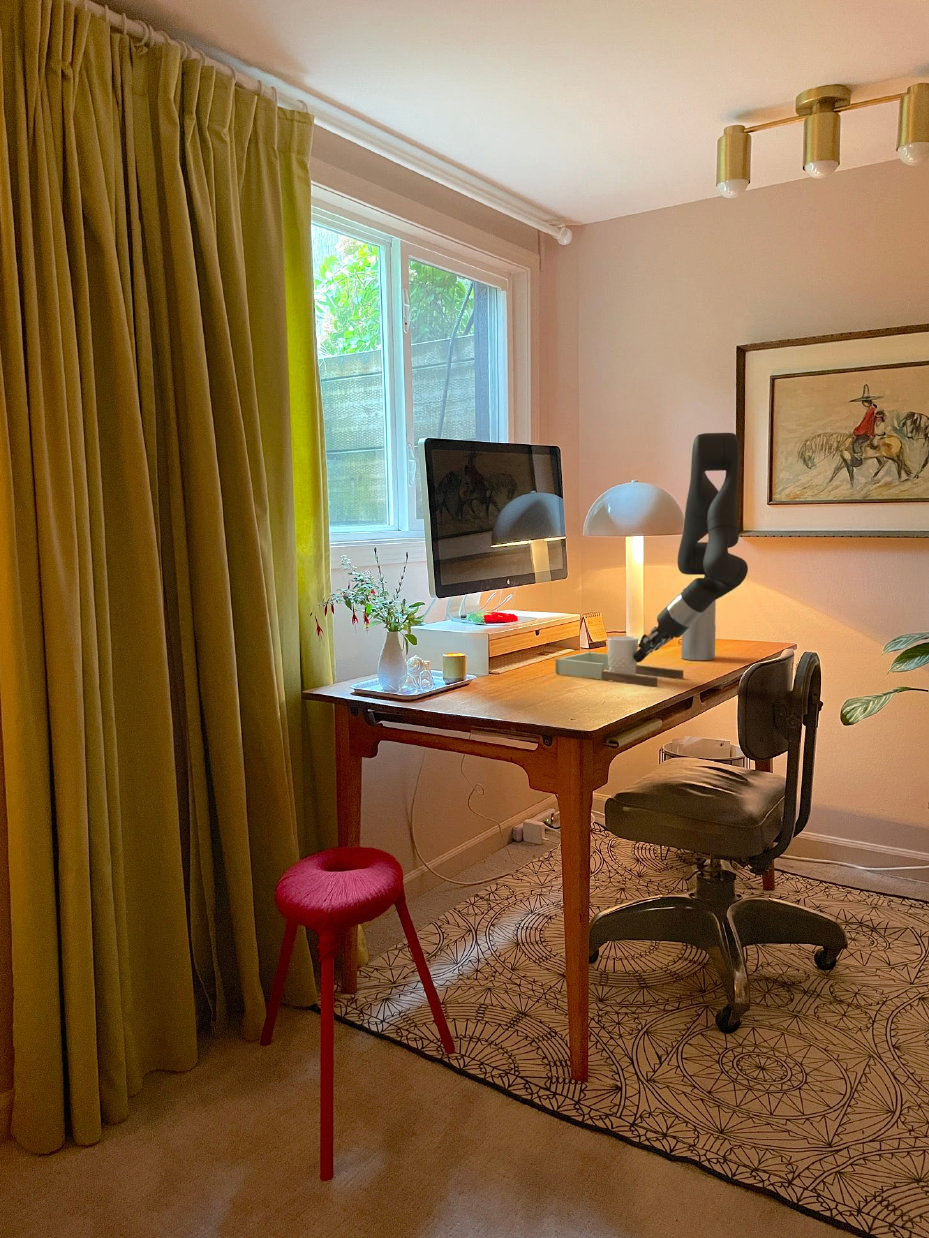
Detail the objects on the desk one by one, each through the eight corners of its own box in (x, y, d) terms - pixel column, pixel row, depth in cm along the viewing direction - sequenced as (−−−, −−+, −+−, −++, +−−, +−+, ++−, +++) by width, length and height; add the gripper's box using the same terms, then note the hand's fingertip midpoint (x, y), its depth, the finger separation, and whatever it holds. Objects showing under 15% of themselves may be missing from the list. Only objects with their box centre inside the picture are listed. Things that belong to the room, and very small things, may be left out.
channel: (632, 671, 249) (632, 664, 249) (683, 678, 239) (683, 670, 239) (601, 679, 238) (601, 671, 238) (654, 686, 228) (654, 678, 228)
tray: (588, 666, 259) (588, 651, 258) (633, 671, 249) (633, 656, 249) (555, 673, 247) (555, 658, 247) (601, 679, 238) (601, 664, 237)
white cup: (600, 675, 244) (600, 637, 242) (623, 672, 248) (623, 635, 247) (621, 680, 237) (621, 641, 236) (644, 677, 241) (644, 638, 240)
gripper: (683, 601, 236) (640, 645, 246) (657, 605, 226) (613, 651, 236) (702, 623, 234) (658, 667, 243) (677, 628, 224) (631, 674, 233)
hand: (636, 659), depth 239 cm, fingers closed
